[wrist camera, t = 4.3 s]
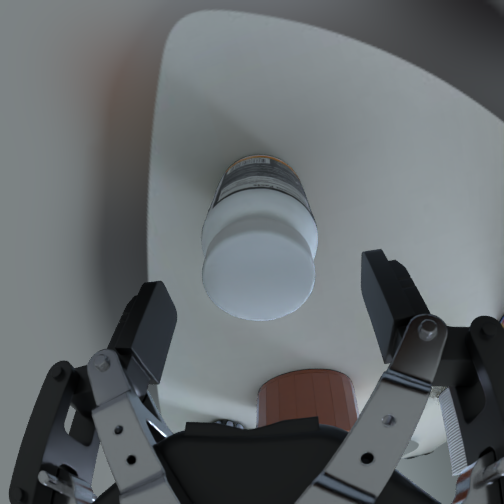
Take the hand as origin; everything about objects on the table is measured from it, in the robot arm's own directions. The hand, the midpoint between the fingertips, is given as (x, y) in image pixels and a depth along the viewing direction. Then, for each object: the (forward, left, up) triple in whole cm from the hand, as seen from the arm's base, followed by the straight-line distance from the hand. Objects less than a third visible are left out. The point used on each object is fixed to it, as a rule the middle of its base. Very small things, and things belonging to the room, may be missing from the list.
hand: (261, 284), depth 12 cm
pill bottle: (0, 0, -11) cm, 11 cm away
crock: (+1, -28, -10) cm, 30 cm away
